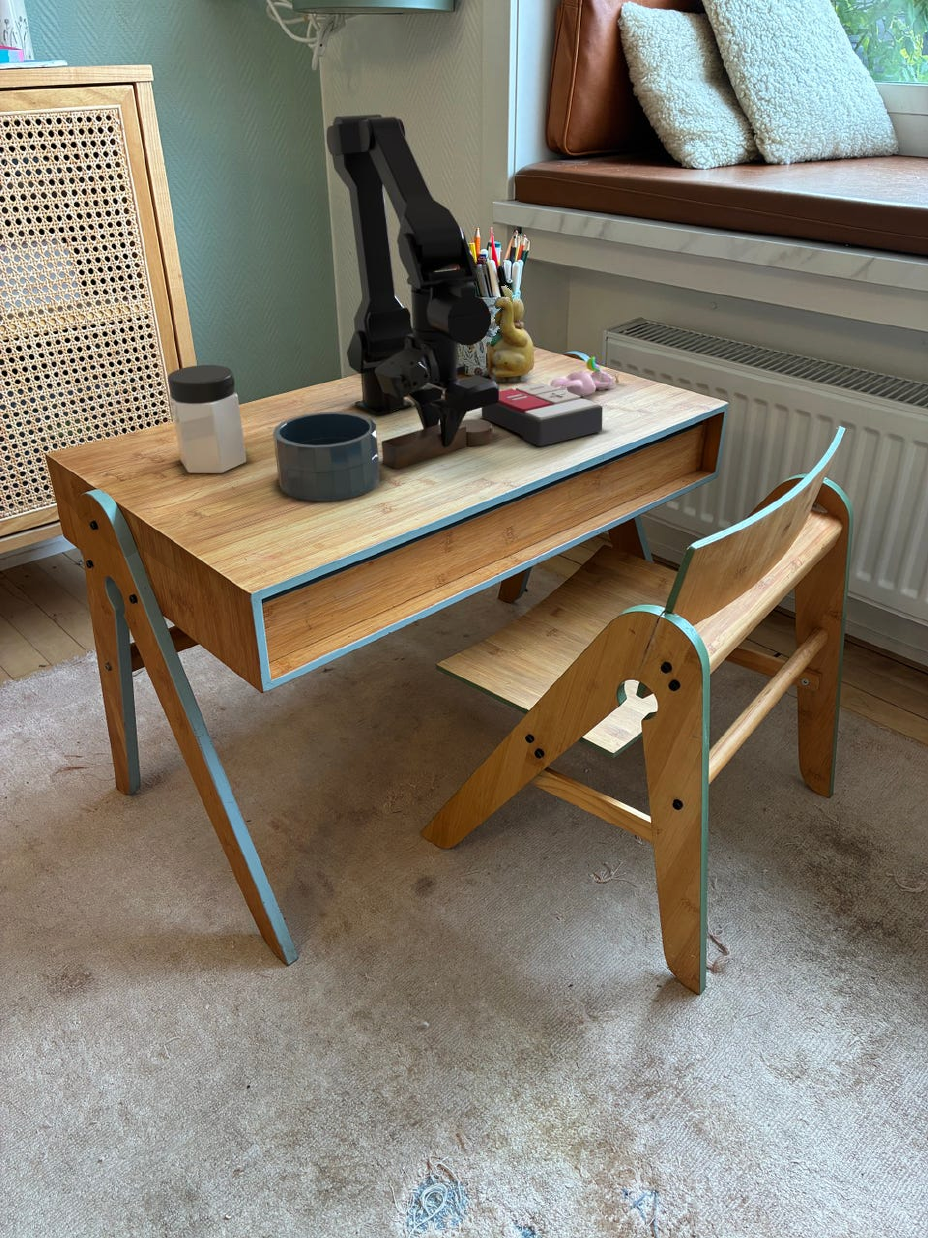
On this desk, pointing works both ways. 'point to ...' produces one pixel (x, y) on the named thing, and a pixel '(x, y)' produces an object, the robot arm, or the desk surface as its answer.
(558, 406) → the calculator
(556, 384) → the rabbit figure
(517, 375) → the decorative figurine
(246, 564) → the desk surface
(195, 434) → the jar
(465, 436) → the spoon
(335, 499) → the pot
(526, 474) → the desk surface
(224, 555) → the desk surface
